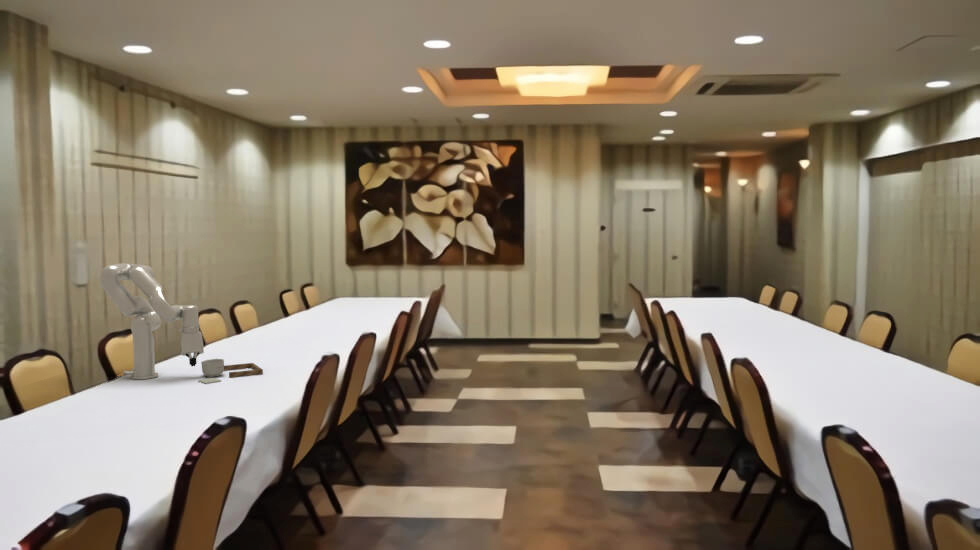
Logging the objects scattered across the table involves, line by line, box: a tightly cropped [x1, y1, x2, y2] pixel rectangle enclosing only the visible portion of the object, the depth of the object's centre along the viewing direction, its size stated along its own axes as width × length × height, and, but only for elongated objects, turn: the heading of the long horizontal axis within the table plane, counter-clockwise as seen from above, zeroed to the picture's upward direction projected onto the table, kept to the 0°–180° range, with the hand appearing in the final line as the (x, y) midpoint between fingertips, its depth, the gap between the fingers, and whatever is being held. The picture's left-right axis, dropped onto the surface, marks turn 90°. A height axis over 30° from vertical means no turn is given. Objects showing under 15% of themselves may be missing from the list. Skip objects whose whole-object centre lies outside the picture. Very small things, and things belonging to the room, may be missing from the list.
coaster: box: [197, 377, 222, 385], centre depth 349 cm, size 8×8×1 cm
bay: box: [224, 362, 264, 379], centre depth 371 cm, size 16×20×2 cm
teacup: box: [200, 358, 225, 378], centre depth 363 cm, size 14×11×8 cm
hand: (193, 365), depth 357 cm, fingers closed
